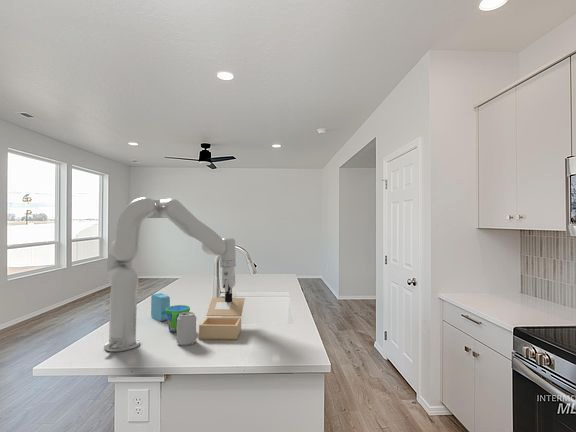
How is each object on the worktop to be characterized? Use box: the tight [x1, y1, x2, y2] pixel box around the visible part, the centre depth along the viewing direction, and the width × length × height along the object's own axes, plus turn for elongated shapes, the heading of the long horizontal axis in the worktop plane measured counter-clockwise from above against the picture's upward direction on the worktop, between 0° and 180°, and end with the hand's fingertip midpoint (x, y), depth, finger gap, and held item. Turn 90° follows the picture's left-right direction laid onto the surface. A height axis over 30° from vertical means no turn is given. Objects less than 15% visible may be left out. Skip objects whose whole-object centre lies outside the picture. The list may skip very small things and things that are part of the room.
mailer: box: [198, 316, 242, 341], centre depth 143 cm, size 12×16×6 cm
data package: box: [150, 292, 171, 322], centre depth 167 cm, size 12×4×12 cm, turn 46°
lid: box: [205, 297, 246, 317], centre depth 155 cm, size 12×16×1 cm
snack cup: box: [166, 304, 191, 333], centre depth 149 cm, size 16×11×10 cm
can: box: [176, 311, 197, 347], centre depth 133 cm, size 8×8×12 cm
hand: (228, 301), depth 158 cm, fingers closed
